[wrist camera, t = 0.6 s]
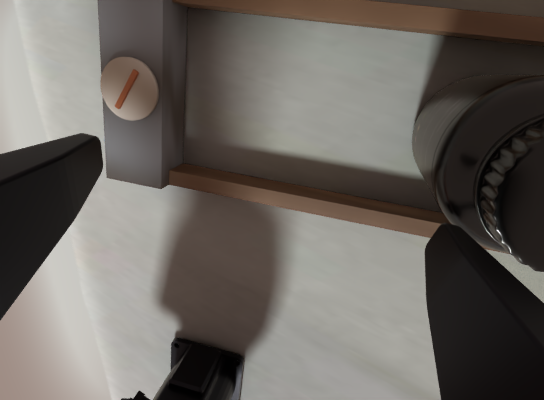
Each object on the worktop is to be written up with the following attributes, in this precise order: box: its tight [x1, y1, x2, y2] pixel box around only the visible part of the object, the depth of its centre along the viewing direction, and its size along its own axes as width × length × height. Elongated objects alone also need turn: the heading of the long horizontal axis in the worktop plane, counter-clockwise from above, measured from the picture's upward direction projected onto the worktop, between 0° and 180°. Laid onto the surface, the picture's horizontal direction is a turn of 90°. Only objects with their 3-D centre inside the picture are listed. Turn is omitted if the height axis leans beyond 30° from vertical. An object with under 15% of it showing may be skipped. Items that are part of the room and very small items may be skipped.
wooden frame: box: [98, 0, 544, 254], centre depth 20 cm, size 12×31×4 cm, turn 83°
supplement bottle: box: [412, 74, 544, 272], centre depth 15 cm, size 7×7×12 cm
